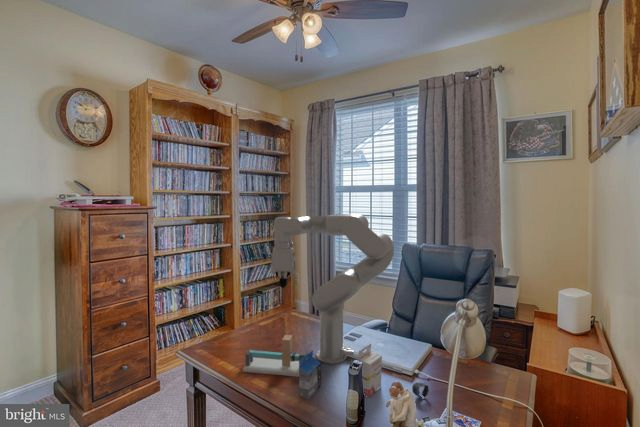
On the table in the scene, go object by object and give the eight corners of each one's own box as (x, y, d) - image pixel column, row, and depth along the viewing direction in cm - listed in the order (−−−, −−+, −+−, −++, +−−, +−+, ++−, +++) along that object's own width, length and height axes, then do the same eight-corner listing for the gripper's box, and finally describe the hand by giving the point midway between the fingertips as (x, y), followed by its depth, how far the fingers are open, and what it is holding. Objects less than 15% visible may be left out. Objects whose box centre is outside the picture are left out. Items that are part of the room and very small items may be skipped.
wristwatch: (412, 397, 109) (412, 382, 109) (425, 395, 110) (426, 380, 110) (416, 402, 106) (417, 387, 106) (430, 400, 107) (431, 385, 107)
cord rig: (308, 364, 130) (308, 347, 129) (304, 377, 121) (304, 358, 120) (251, 359, 134) (251, 342, 133) (242, 371, 125) (242, 353, 124)
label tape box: (309, 400, 108) (309, 363, 107) (298, 396, 110) (298, 360, 109) (321, 386, 115) (322, 352, 115) (312, 383, 117) (312, 349, 116)
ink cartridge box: (369, 399, 108) (369, 355, 107) (356, 393, 111) (357, 351, 110) (382, 387, 115) (382, 346, 114) (369, 382, 118) (370, 342, 117)
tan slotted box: (292, 360, 128) (292, 335, 128) (289, 366, 124) (289, 340, 123) (285, 360, 129) (285, 334, 128) (282, 365, 125) (282, 339, 124)
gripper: (301, 244, 145) (301, 285, 146) (269, 243, 147) (269, 283, 148) (298, 247, 137) (298, 290, 138) (263, 246, 140) (264, 288, 141)
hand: (283, 286), depth 143 cm, fingers closed
